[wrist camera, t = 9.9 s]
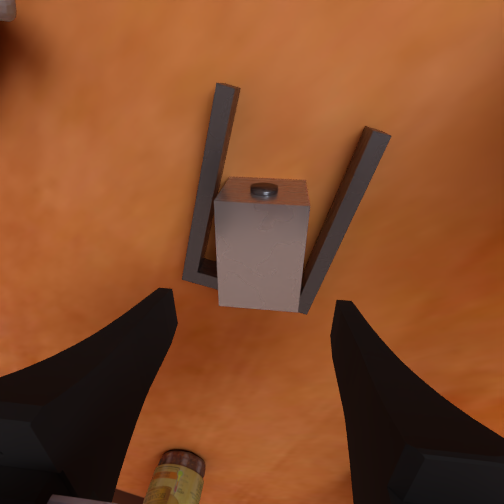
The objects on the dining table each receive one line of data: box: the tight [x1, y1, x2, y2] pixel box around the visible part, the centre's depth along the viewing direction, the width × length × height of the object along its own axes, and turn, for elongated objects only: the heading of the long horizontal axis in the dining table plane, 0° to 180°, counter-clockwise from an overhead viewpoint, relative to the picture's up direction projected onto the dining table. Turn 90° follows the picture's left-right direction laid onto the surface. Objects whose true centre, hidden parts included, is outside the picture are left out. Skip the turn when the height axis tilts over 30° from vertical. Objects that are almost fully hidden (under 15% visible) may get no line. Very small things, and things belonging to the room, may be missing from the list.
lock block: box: [214, 177, 310, 312], centre depth 19 cm, size 5×7×5 cm
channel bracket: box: [182, 83, 391, 315], centre depth 20 cm, size 10×13×2 cm
